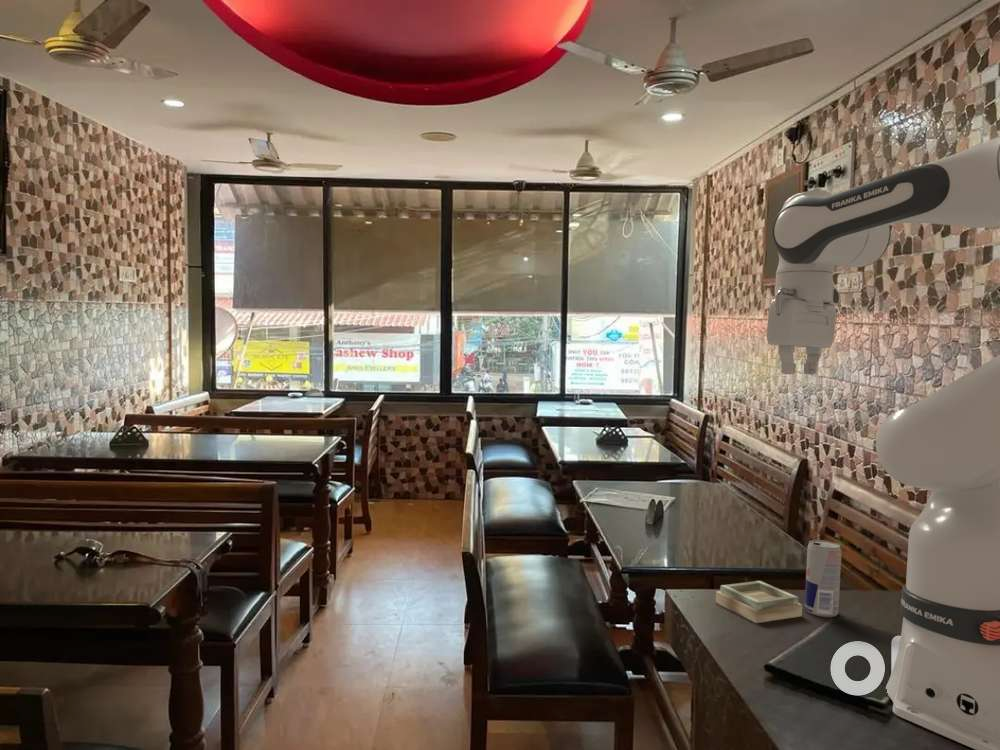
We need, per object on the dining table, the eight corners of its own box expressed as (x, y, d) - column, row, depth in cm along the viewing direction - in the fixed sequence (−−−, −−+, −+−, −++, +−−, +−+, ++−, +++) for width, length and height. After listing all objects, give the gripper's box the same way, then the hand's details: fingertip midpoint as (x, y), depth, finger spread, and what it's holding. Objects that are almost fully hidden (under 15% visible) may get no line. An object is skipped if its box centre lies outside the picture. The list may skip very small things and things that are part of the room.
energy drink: (809, 604, 127) (812, 537, 127) (841, 612, 124) (845, 543, 124) (800, 612, 123) (803, 543, 123) (833, 620, 120) (837, 549, 120)
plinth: (801, 616, 121) (802, 597, 121) (756, 623, 117) (757, 604, 117) (759, 596, 130) (760, 579, 130) (715, 602, 127) (716, 584, 126)
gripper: (798, 285, 109) (794, 375, 110) (843, 295, 124) (840, 375, 125) (758, 286, 114) (754, 373, 114) (807, 297, 129) (803, 373, 129)
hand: (799, 374), depth 120 cm, fingers open, 8 cm apart
